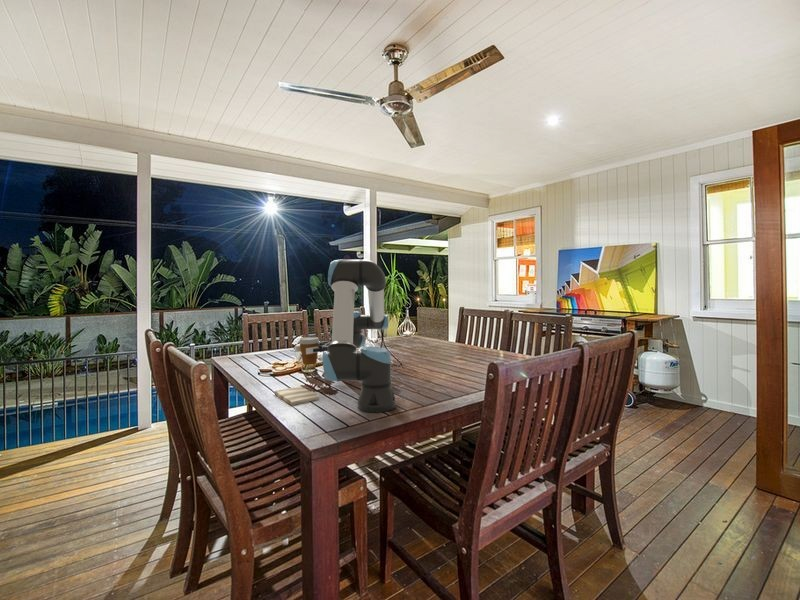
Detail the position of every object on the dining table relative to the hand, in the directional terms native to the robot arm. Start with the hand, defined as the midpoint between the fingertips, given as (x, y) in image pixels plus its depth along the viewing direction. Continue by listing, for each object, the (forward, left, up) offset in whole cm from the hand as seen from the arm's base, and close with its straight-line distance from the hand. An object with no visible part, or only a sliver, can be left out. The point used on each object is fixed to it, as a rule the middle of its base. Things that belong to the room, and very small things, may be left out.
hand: (300, 350), depth 176 cm
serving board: (-11, +7, -18) cm, 22 cm away
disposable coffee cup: (+1, -5, -7) cm, 9 cm away
